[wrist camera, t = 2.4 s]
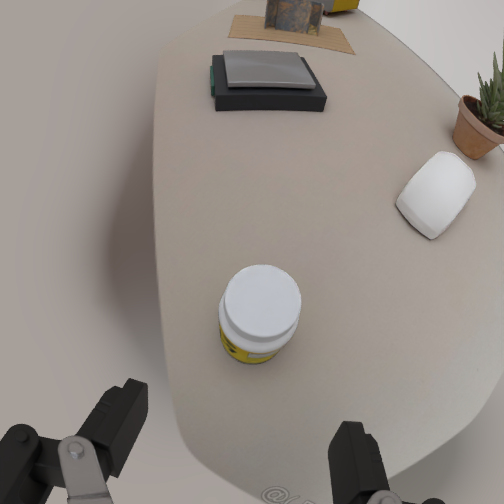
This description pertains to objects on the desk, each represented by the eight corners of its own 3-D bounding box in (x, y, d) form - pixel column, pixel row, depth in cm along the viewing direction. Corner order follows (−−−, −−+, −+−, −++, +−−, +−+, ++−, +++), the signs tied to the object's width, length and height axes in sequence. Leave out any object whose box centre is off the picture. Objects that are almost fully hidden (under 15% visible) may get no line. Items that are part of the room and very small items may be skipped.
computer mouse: (467, 196, 33) (492, 166, 27) (429, 248, 28) (462, 215, 23) (433, 163, 35) (454, 130, 29) (386, 206, 30) (412, 166, 25)
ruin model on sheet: (227, 37, 48) (230, -7, 39) (234, 14, 56) (237, -21, 47) (355, 54, 49) (367, 14, 40) (340, 28, 57) (348, -5, 48)
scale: (212, 111, 35) (212, 95, 33) (209, 68, 41) (209, 55, 39) (323, 111, 37) (327, 97, 35) (301, 69, 43) (303, 57, 40)
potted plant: (432, 128, 39) (495, 1, 18) (459, 124, 42) (516, 18, 20) (474, 175, 35) (557, 49, 14) (496, 165, 38) (566, 60, 16)
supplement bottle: (214, 311, 24) (209, 263, 16) (273, 300, 24) (294, 248, 17) (227, 371, 22) (227, 353, 14) (289, 357, 22) (320, 331, 15)
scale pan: (227, 87, 33) (227, 82, 33) (223, 55, 38) (223, 50, 37) (314, 89, 35) (316, 84, 34) (296, 56, 39) (297, 52, 39)
